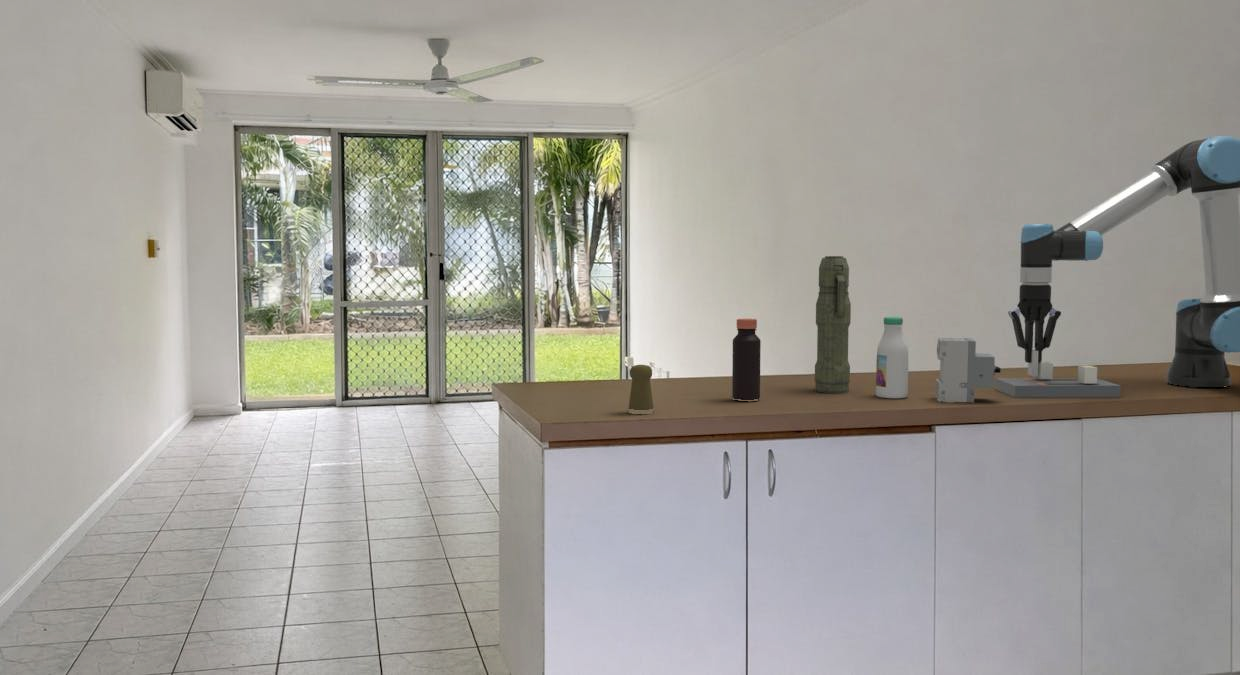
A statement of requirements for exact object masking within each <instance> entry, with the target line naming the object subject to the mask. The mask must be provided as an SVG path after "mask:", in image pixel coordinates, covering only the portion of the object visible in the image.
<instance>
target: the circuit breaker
mask: <svg viewBox="0 0 1240 675" xmlns="http://www.w3.org/2000/svg"><path fill="white" fill-rule="evenodd" d="M976 344H977V342H976V340H975V339H973V338H972V337H938V338H937V344H936V355H937V359H938V360H940V364H939V367H940V368H939V377H938V378H936V379H935V399H936V398H937V399H936V400H937V402H938V401H939V402H938V403H954V402H972V403H971V404H974V403H975V389H994V388H995V374H997V373H999V374H1001V367H999V366H997V365H995V364H996V361H995V358H996V357H995V356H994V355H992V354H991V353H982V352H981V353H978V352H976V348H977V346H976ZM941 401H942V402H941Z"/></svg>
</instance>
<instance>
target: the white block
mask: <svg viewBox="0 0 1240 675" xmlns="http://www.w3.org/2000/svg"><path fill="white" fill-rule="evenodd" d="M1077 378H1078V382H1081V383H1097V379H1098V367H1097V366H1094V365H1078V366H1077Z"/></svg>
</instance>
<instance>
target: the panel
mask: <svg viewBox="0 0 1240 675" xmlns="http://www.w3.org/2000/svg"><path fill="white" fill-rule="evenodd" d="M994 388H995V390H996V391H998V392H1000V393H1002V394H1005V395H1007V396H1010V397H1012V398H1016V399H1017V398H1019V399H1021V398H1023V399H1025V398H1026V399H1031V398H1033V399H1037V398H1038V399H1039V398H1040V399H1041V398H1043V399H1044V398H1045V399H1046V398H1048V399H1049V398H1051V399H1053V398H1055V399H1058V398H1060V399H1061V398H1062V399H1063V398H1064V399H1065V398H1068V399H1069V398H1072V399H1073V398H1074V399H1075V398H1078V399H1079V398H1080V399H1081V398H1085V399H1086V398H1093V399H1094V398H1107V399H1108V398H1111V399H1113V398H1116V399H1117V398H1119V399H1120V398H1121V388H1122V386H1121V385H1120V384H1117V383H1114V382H1110V381H1107V380H1103V379H1100V378H1097V383H1081V382H1078V377H1053V379H1039V378H1036V377H996V378H995V380H994Z"/></svg>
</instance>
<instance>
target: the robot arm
mask: <svg viewBox="0 0 1240 675" xmlns="http://www.w3.org/2000/svg"><path fill="white" fill-rule="evenodd" d="M1188 189H1191V195H1192V196H1194V197H1195V198H1196V199H1198V204H1199V217H1200V229H1201V242H1202V243H1201V244H1202V255H1203V256H1202V257H1203V270H1204V282H1205V285H1204V286H1205V294H1204V295H1203V296H1202V297H1201V298H1187V299H1182V300H1180V301H1179V302H1178V303H1177V306H1176V311H1175V316H1176V317H1175V320H1176V321H1175V345H1174V357H1173V358H1172V361H1171V364H1170V366H1169V368H1168V371H1167V373H1166V376H1165V377H1166V382H1167V383H1166V384H1168V383H1169V384H1168V385H1171V384H1173V386H1177V385H1179V386H1178V387H1185V386H1189V387H1188V388H1196V387H1224V386H1229V385H1231V384H1232V379H1231V377H1232V376H1231V374H1230V370H1229V368H1228V365H1227V361H1226V358H1225V353H1240V202H1239V197H1240V196H1239V195H1240V139H1239V138H1237V137H1234V136H1228V135H1219V136H1218V135H1216V136H1213V137H1208V138H1204V139H1198V140H1194V141H1190V142H1188V143H1186V144H1184V145H1182V146H1180V147H1179V148H1178V149H1176V150H1175V151H1173V152H1172V153H1170V154H1169V155H1167V156H1166V157H1164V158H1163V159H1161V160H1160V161H1158V162H1157V163H1155V164H1153V165H1152V166H1151V168H1150V171H1149V172H1148V173H1146V174H1145V175H1143V176H1142V177H1140V178H1139V179H1137V180H1135V181H1134V182H1131V183H1130V184H1128V185H1127V186H1126V187H1124V188H1122V189H1120V190H1119V191H1117V192H1116V193H1114V194H1113V195H1111V196H1109V197H1107V198H1105V200H1103V201H1101V202H1100V203H1098V204H1096V205H1095V206H1093V207H1092V208H1090V209H1089V210H1086V211H1085V212H1084V213H1083V212H1082V214H1080V215H1078V216H1077V217H1076V218H1074V219H1072V220H1071V221H1069V222H1068V223H1066V224H1064V225H1063V226H1061V227H1059V228H1058V229H1056V230H1055V229H1054V225H1053V224H1052V223H1026V224H1024V225H1023V226H1022V228H1021V233H1020V234H1021V236H1020V241H1019V242H1020V270H1019V271H1020V272H1019V282H1020V283H1021V284H1020V286H1019V296H1018V297H1019V301H1018V304H1017V305H1016V306H1017V307H1016V308H1014V309H1013V310H1009V311H1008V315H1009V317H1010V319H1011V321H1012V326H1013V330H1014V331H1013V332H1014V334H1015V339H1016V343H1017V345H1016V346H1017V347H1018V348H1021V349H1023V350H1024V362H1025V363H1027V375H1028V376H1031V377H1035V376H1038V363H1041V362H1043V361H1042V360H1043V359H1042V358H1043V351H1044V350H1045V349H1048V348H1050V347H1051V343H1052V341H1053V335H1054V332H1055V329H1056V328H1055V327H1056V325H1057V321H1058V320H1059V317H1061V315H1062V311H1060V310H1057V309H1055V308H1054V307H1053V304H1052V301H1051V300H1052V286H1051V284H1050V283H1052V281H1053V280H1052V278H1053V277H1052V274H1053V273H1052V272H1053V269H1052V268H1053V261H1055V262H1056V261H1057V262H1058V261H1070V262H1071V261H1075V262H1076V261H1085V262H1087V261H1096V260H1098V259H1099V258H1100V257H1101V256H1102V253H1103V250H1104V240H1103V236H1104V235H1105V234H1106V233H1108V232H1110V231H1112V230H1113V229H1114V228H1116V227H1118V226H1120V225H1121V224H1123V223H1124V222H1126V221H1128V220H1129V219H1131V218H1132V217H1134V216H1136V215H1138V214H1139V213H1141V212H1142V211H1144V210H1146V209H1147V208H1149V207H1151V206H1152V205H1154V204H1156V203H1157V202H1159V201H1160V200H1162V199H1163V198H1165V197H1167V196H1169V197H1174V196H1176V195H1178V194H1179V193H1181V192H1183V191H1185V190H1188ZM1021 315H1022V316H1023V318H1024V331H1023V326H1022V322H1021V321H1022V320H1021V318H1020V316H1021ZM1047 316H1048V320H1047V323H1046V325H1044V324H1045V318H1046V317H1047ZM1044 326H1046V327H1045V329H1044ZM1044 330H1045V331H1044ZM1033 347H1034V349H1033ZM1231 386H1232V385H1231Z"/></svg>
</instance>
